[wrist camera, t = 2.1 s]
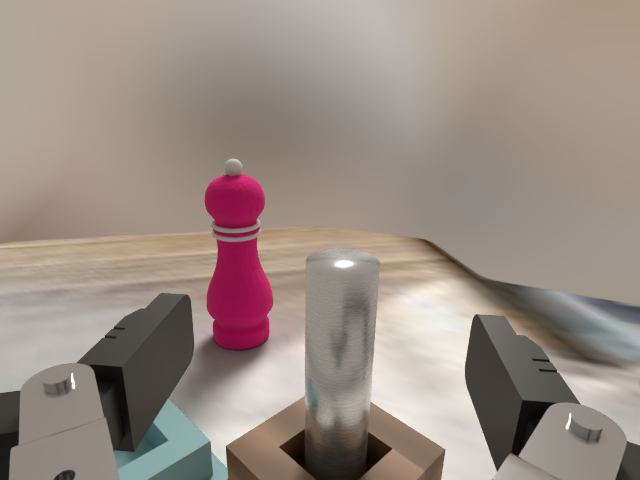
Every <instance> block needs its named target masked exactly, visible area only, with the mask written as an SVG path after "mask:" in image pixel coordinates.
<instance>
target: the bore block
mask: <svg viewBox="0 0 640 480" xmlns="http://www.w3.org/2000/svg"><path fill="white" fill-rule="evenodd" d="M226 454H227V468H228V480H316V479H314V478H313V477H312V476H311V475H310V474H309V473H308V472H307V471H305V396H304V397H303V398H301V399H299V400H298V401H296V402H295V403H293V404H292V405H290V406H288V407H287V408H285V409H284V410H282V411H281V412H279V413H277V414H276V415H274V416H273V417H271V418H270V419H268V420H266V421H265V422H263V423H262V424H260V425H259V426H257V427H255V428H254V429H252V430H251V431H249V432H247V433H246V434H244V435H243V436H241V437H240V438H238V439H236V440H235V441H233V442H232V443H230V444H229V445H227V446H226ZM444 455H445V449H444V448H442V447H441V446H439V445H437V444H436V443H434V442H433V441H431V440H429V439H428V438H426V437H425V436H423V435H422V434H420V433H418V432H417V431H415V430H414V429H412V428H411V427H409V426H407V425H406V424H404V423H403V422H401V421H400V420H398V419H396V418H395V417H393V416H392V415H390V414H388V413H387V412H385V411H384V410H382V409H381V408H379V407H377V406H376V405H374V404H373V403H371V402H370V413H369V428H368V443H367V457H366V472H365V474H364V475H363V476H362V477H361V478H360V479H359V480H441V476H442V469H443V462H444Z"/></svg>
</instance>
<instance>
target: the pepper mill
mask: <svg viewBox="0 0 640 480" xmlns="http://www.w3.org/2000/svg"><path fill="white" fill-rule="evenodd" d="M224 168H225V172H226V173H227V175H223V176H220V177H218V178H216V179H215V180H213V181H212V182H211V183H210V184H209V186H208V188H207V190H206V194H205V206H206V210H207V212H208V213H209V214H210V215H211V216H212V217H213V218H214V220H215V221H213V223H212V228H213V232H212V235H213V237H214V238H216V239H217V245H218V259H217V264H216V268H215V271H214V274H213V277H212V280H211V282H210V285H209V288H208V293H207V310H208V312H209V314H210V315H211V316H212V317H213V318H214V319H215V320H214V322H213V335H214V340H215V342H216V343H217V344H218V345H220V346H222V347H224V348H227V349H232V350H244V349H250V348H253V347H256V346H258V345H260V344H262V343H263V342H264V341H265V340H266V339H267V338H268V336H269V319H268V317H267V316H266V315H267V314H268V313H269V311H270V310H271V308H272V305H273V296H272V290H271V287H270V283H269V281H268V279H267V277H266V275H265V273H264V271H263V269H262V267H261V264H260V261H259V257H258V251H257V237H258V236H259V235H260V234H261V230H260V225H261V222H260V221H259V220H258V219H257V218H258V216H259V215H260V213H261V212H262V211H263V209H264V205H265V198H264V192H263V190H262V187H261V186H260V184H259V183H258V182H257V181H255V180H254V179H253V178H251V177H249V176H246V175H242V174H241V172H242V164H241V163H240V161H238V160H236V159H230V160H228V161H227V162H226V163H225V167H224Z"/></svg>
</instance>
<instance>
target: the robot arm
mask: <svg viewBox="0 0 640 480" xmlns="http://www.w3.org/2000/svg"><path fill="white" fill-rule="evenodd" d="M193 351H194V335H193V322H192V309H191V300H190V297H189V296H188V295H185V294H169V293H161V294H159V295H158V296H157V297H156V298H155V299H154V300H153V301H152V302H151V303H150V304H149V305H148V306H147V307H146V308H145V309H139V310H137V311H135V312H133V313H131V314H129V315H127V316H125V317H124V318H123V319H122V320H121V321H120V322H119V323H118V324H117V325H116V326H115V327H114V329H111V330H110V331H109V332H108V333H107V334H106V335H105V338H102V339H101V340H100V341H99V342H98V343H97V344H96V345H95V346H94V347H93V348H92V349H90V350H89V351H88V352H87V353H86V354H85V355H84V356H83V357H82V358H81V359H80V360H79V361H78V362H77V363H69V364H62V365H58V366H54V367H51V368H48V369H46V370H43V371H41V372H39V373H37V374H36V375H34V376H33V377H31V378H30V379H29V380H28V381H27V382H25V384H24V385H23V386H22V388H21V391H14V392H6V393H0V480H120V478H119V474H118V469H117V465H116V460H115V456H114V451H115V450H116V451H127V452H135V450H136V449H137V447H138V445H139V444H140V442H141V441H142V439H143V438H144V436H145V434H146V433H147V431H148V430H149V428H150V426H151V425H152V423H153V422H154V420H155V418H156V417H157V415H158V414H159V412H160V410H161V409H162V407H163V406H164V404H165V403H166V401H167V399H168V398H169V396H170V395H171V393H172V391H173V390H174V388H175V387H176V385H177V383H178V382H179V380H180V379H181V377H182V375H183V374H184V372H185V371H186V369H187V368H188V366H189V364H190V362H191V359H192V356H193ZM465 379H466V385H467V388H468V391H469V394H470V397H471V400H472V402H473V405H474V408H475V411H476V414H477V416H478V419H479V422H480V425H481V428H482V431H483V433H484V436H485V439H486V442H487V445H488V447H489V450H490V453H491V456H492V459H493V461H494V464H495V467H496V470H497V473H496V475H495V476H494V478H493V479H492V480H640V446H639V445H636V444H633V443H630V442H628V441H627V439H626V436H625V434H624V432H623V431H622V429H621V428H620V427H619V426H618V425H617V424H616V423H615V422H614V421H613V420H612V419H610V418H609V417H607V416H606V415H604V414H602V413H601V412H599V411H597V410H594V409H592V408H589V407H587V406H584V405H581V404H580V403H579V401H578V400H577V398H576V397H575V395H574V394H573V393H572V391H571V390H570V388H569V387H568V385H567V384H566V383H565V381H564V380H563V378H562V377H561V375H560V374H559V373H557V370H556V368H555V367H554V365H553V364H552V363H551V362H550V361H549V358H548V357H547V355H546V354H545V353H544V351H543V350H542V348H541V347H540V346H539V345H537V344H536V343H534V342H533V341H532V340H530V339H529V338H528V337H526V336H522V335H516V333H515V331H514V330H513V328H512V327H511V325H510V324H509V322H508V320H507V319H506V318H505V317H504V316H493V315H478V314H476V315H475V316H474V318H473V321H472V326H471V332H470V338H469V345H468V351H467V357H466V364H465Z"/></svg>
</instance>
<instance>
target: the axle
mask: <svg viewBox="0 0 640 480" xmlns="http://www.w3.org/2000/svg"><path fill="white" fill-rule="evenodd" d="M379 267H380V262H379V260H378V259H377V258H376V257H375V256H373V255H371V254H369V253H366V252H363V251H359V250H354V249H344V248H335V249H326V250H321V251H317V252H315V253H313V254H311V255H309V256H308V257H307V259H306V332H305V471H307V472H308V473H309V474H310V475H311V476H312V477H313V478H314V479H316V480H359V479H360V478H361V477H362V476H363V475H364V474H365V472H366V457H367V443H368V428H369V413H370V399H371V384H372V370H373V355H374V340H375V326H376V311H377V296H378V282H379Z"/></svg>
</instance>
